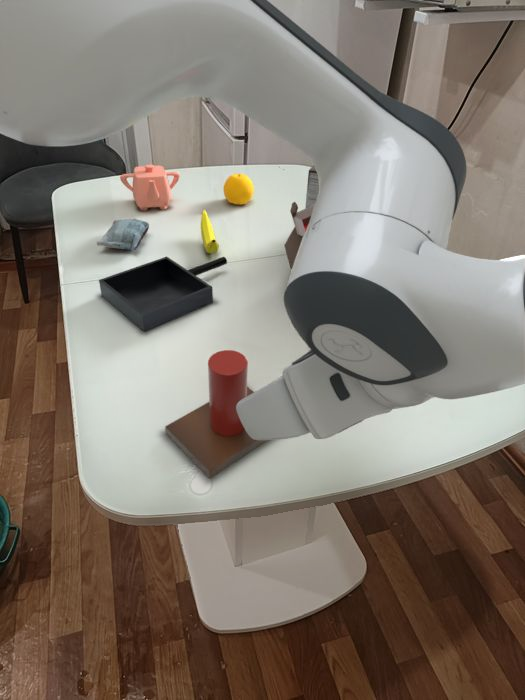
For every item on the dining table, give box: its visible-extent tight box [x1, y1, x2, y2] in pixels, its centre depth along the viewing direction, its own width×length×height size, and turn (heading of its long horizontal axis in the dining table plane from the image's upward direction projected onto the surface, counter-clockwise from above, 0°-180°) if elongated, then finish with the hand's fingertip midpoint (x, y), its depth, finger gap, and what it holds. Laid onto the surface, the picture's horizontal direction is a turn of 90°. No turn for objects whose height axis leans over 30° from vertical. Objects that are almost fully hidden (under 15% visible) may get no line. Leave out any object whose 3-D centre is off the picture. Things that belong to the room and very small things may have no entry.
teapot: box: [119, 163, 181, 211], centre depth 130 cm, size 14×12×10 cm
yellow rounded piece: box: [222, 173, 255, 205], centre depth 134 cm, size 8×8×8 cm
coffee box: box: [304, 164, 319, 209], centre depth 119 cm, size 9×6×16 cm
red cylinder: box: [207, 349, 249, 436], centre depth 68 cm, size 5×5×11 cm
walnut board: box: [164, 386, 268, 479], centre depth 72 cm, size 14×10×2 cm
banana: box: [200, 209, 220, 255], centre depth 114 cm, size 3×19×6 cm, turn 11°
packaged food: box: [96, 218, 150, 251], centre depth 114 cm, size 9×12×5 cm
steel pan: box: [98, 256, 228, 333], centre depth 99 cm, size 24×15×4 cm, turn 132°
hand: (288, 385), depth 56 cm, fingers open, 8 cm apart
